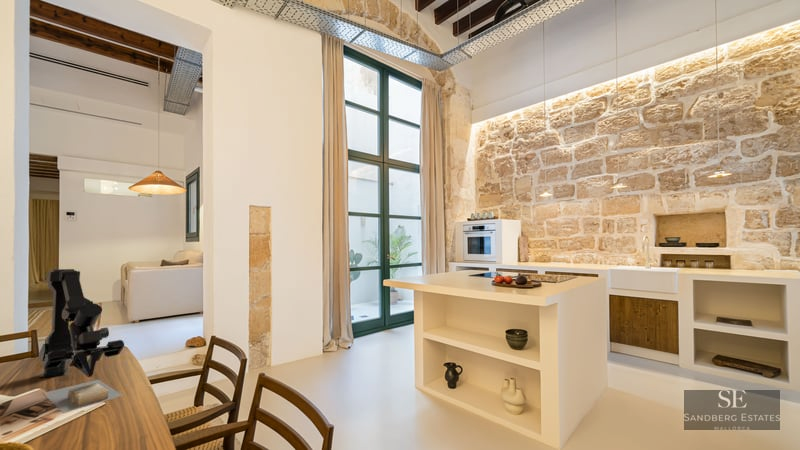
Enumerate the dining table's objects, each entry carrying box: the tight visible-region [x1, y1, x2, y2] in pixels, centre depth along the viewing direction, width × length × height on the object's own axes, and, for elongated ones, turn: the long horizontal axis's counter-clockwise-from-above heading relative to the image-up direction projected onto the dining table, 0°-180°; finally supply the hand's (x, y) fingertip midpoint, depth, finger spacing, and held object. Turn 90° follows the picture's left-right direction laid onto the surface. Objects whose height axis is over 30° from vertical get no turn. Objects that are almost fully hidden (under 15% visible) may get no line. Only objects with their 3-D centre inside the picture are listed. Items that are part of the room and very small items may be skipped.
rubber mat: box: [45, 379, 124, 414], centre depth 106 cm, size 22×14×1 cm, turn 58°
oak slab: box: [68, 383, 109, 407], centre depth 104 cm, size 3×7×10 cm
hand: (90, 376), depth 105 cm, fingers closed
